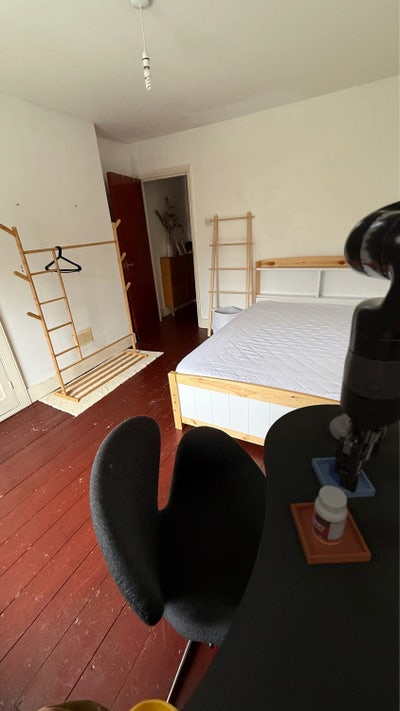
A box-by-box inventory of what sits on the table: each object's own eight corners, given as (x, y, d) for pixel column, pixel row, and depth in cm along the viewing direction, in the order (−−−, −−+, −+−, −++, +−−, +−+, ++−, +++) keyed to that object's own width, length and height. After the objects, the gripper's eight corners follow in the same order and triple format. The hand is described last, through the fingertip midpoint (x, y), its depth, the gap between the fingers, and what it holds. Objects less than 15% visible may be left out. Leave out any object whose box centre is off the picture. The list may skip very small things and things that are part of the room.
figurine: (364, 452, 84) (373, 408, 78) (326, 441, 89) (332, 400, 83) (366, 433, 91) (374, 392, 85) (330, 424, 96) (336, 385, 90)
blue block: (342, 469, 79) (344, 456, 77) (354, 481, 75) (357, 469, 73) (328, 473, 78) (330, 460, 76) (339, 486, 74) (341, 473, 72)
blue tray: (352, 461, 82) (353, 456, 81) (374, 496, 72) (375, 490, 71) (311, 463, 82) (312, 458, 81) (327, 498, 72) (328, 493, 71)
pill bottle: (305, 523, 66) (310, 487, 61) (330, 515, 67) (336, 479, 63) (322, 550, 61) (328, 513, 56) (348, 541, 62) (356, 504, 57)
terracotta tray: (342, 506, 70) (343, 500, 69) (369, 561, 59) (371, 554, 58) (290, 509, 70) (291, 503, 69) (307, 564, 59) (308, 558, 58)
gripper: (365, 352, 45) (353, 435, 52) (320, 395, 37) (313, 486, 44) (424, 366, 40) (402, 455, 47) (388, 419, 32) (367, 518, 39)
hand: (359, 470), depth 45 cm, fingers open, 8 cm apart
